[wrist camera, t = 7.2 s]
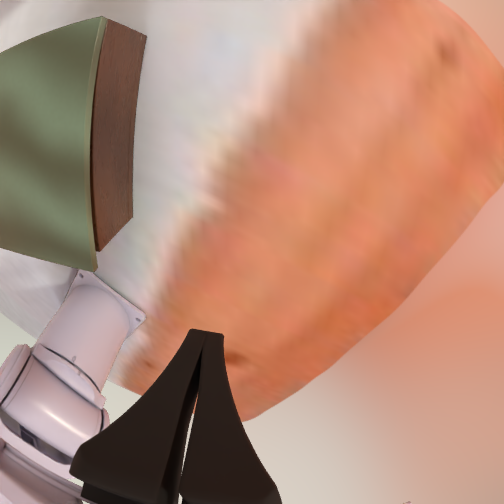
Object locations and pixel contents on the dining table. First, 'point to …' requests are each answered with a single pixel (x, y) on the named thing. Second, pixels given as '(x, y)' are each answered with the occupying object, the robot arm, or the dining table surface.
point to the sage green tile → (49, 144)
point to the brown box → (114, 130)
